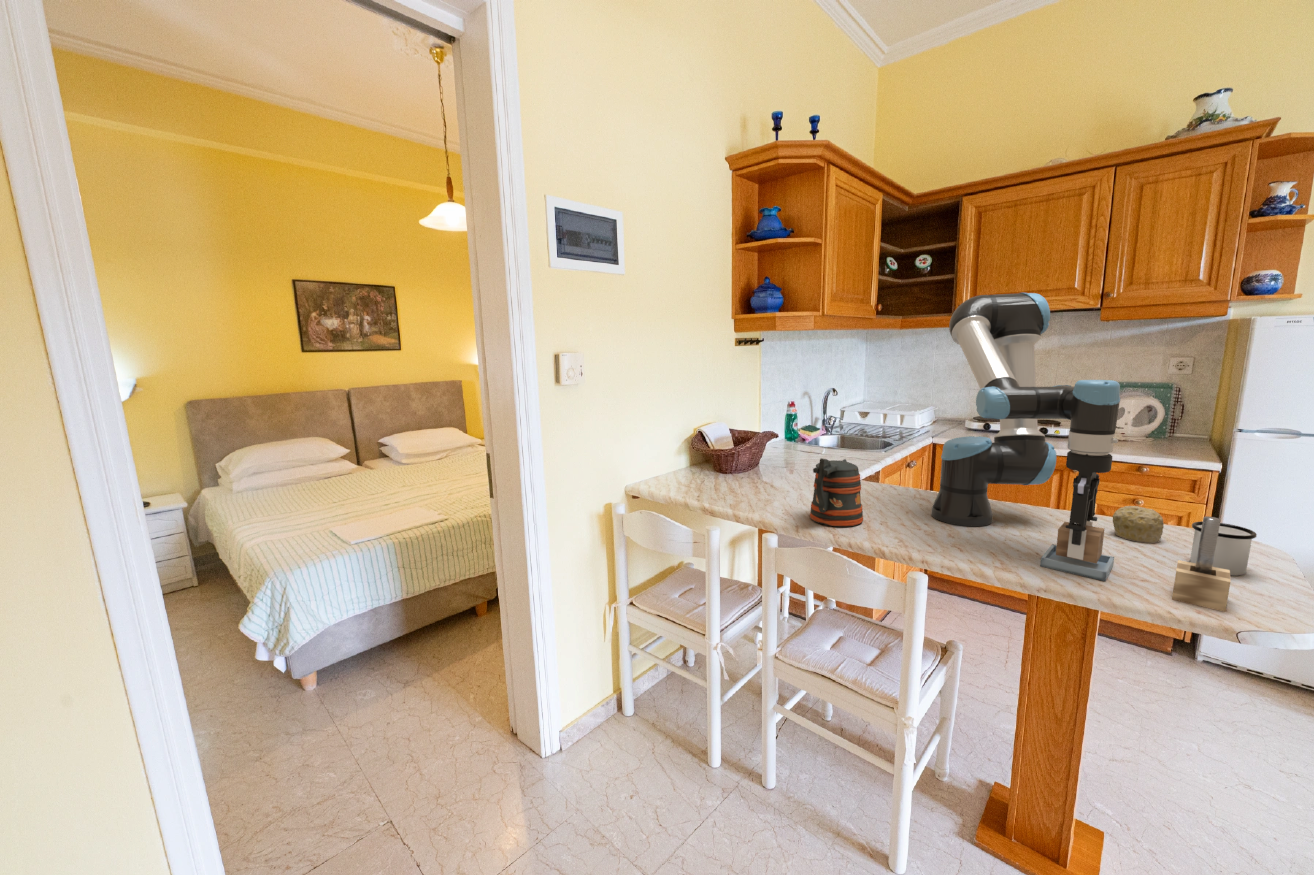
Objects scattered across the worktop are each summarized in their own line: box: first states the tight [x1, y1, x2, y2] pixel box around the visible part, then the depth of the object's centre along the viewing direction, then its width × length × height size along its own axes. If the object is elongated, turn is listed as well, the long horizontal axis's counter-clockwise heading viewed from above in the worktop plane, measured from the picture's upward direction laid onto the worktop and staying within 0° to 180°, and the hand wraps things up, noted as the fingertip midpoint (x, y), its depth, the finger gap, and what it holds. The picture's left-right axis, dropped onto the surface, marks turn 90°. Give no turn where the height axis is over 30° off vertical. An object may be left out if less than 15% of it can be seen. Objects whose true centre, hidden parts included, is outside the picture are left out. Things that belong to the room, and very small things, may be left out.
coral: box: [1112, 505, 1165, 544], centre depth 130 cm, size 9×9×8 cm
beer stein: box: [809, 458, 864, 528], centre depth 147 cm, size 19×15×20 cm
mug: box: [1189, 520, 1258, 577], centre depth 112 cm, size 12×10×9 cm
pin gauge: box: [1194, 516, 1222, 575], centre depth 98 cm, size 2×2×15 cm
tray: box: [1039, 543, 1115, 582], centre depth 115 cm, size 11×11×2 cm
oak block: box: [1171, 559, 1231, 613], centre depth 99 cm, size 7×7×6 cm
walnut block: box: [1056, 521, 1106, 563], centre depth 114 cm, size 7×7×6 cm
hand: (1078, 552), depth 115 cm, fingers closed on walnut block, 7 cm apart
